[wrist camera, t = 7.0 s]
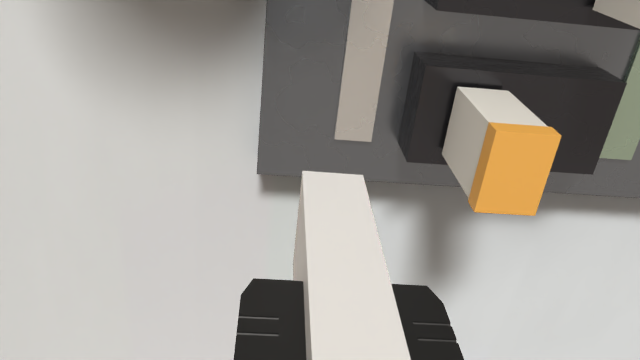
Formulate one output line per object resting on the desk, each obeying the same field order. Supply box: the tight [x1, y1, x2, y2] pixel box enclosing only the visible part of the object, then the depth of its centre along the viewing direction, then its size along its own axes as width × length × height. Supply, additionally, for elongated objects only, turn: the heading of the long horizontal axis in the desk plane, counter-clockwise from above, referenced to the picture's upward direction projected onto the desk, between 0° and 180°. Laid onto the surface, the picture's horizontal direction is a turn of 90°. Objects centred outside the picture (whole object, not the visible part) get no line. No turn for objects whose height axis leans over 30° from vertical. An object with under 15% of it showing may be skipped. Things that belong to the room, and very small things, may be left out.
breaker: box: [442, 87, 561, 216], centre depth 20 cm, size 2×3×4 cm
